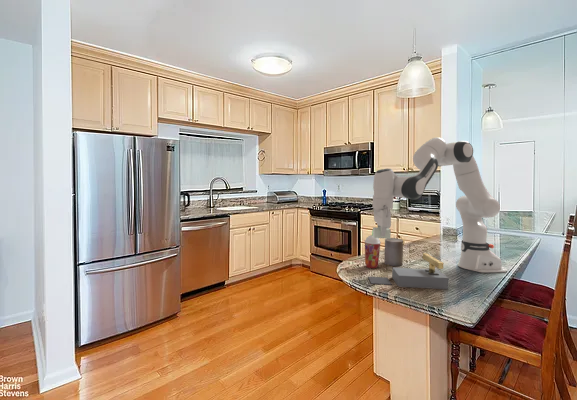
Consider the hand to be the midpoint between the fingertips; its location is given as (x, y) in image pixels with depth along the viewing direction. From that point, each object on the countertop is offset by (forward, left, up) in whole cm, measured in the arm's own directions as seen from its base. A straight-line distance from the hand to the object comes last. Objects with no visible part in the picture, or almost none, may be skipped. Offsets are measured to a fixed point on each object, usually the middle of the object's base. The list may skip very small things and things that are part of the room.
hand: (381, 234), depth 139 cm
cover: (0, 0, -1) cm, 1 cm away
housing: (-17, 0, -22) cm, 28 cm away
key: (-23, 0, -17) cm, 28 cm away
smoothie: (0, -22, -22) cm, 31 cm away
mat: (0, 0, -22) cm, 22 cm away
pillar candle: (-13, -30, -22) cm, 39 cm away
